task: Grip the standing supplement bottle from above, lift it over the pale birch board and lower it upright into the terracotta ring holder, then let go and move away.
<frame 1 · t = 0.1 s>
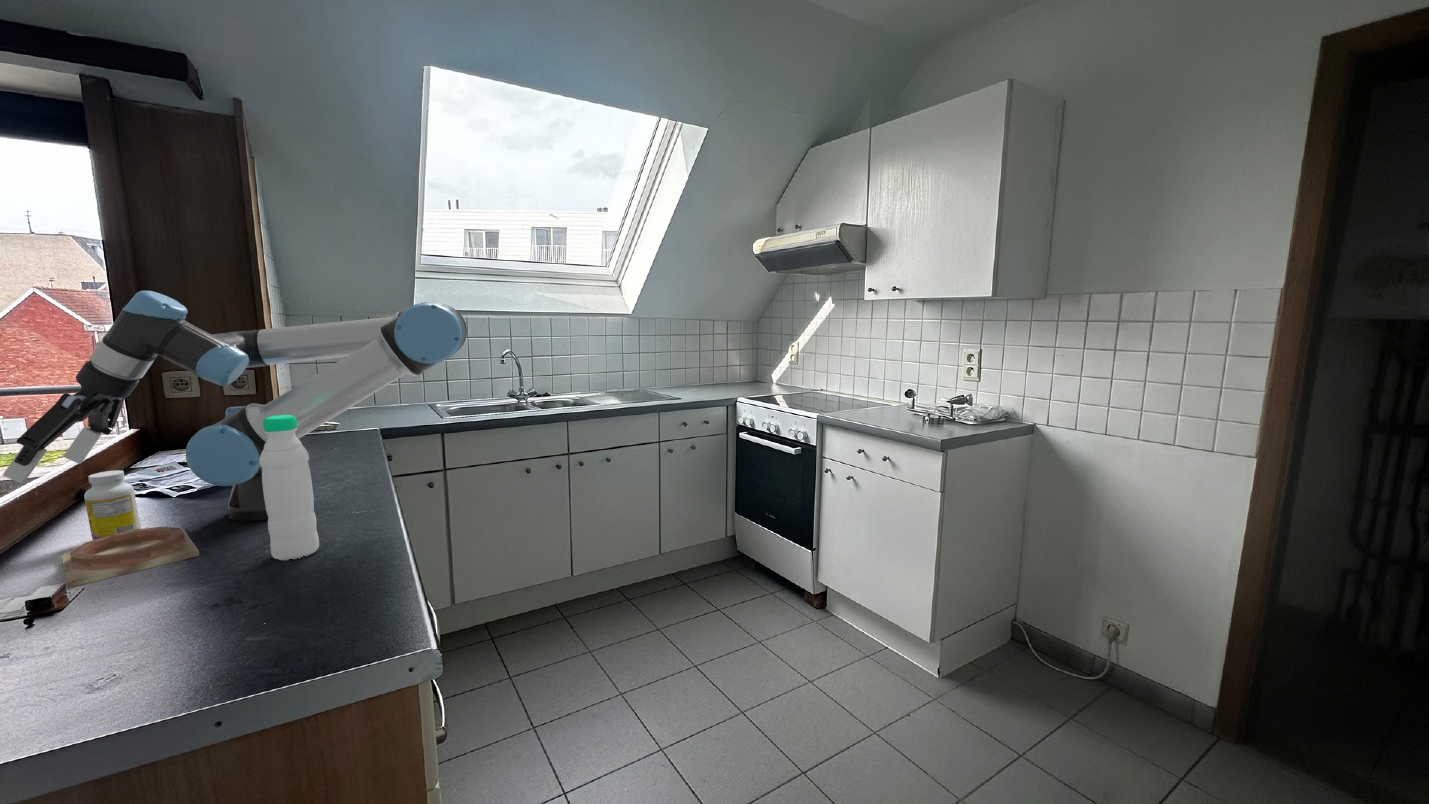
hand: (44, 469, 106), 15 cm above the countertop, tool tilted 35°, fingers open, 13 cm apart
supplement bottle: (117, 539, 114), on the countertop
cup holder: (131, 557, 105), on the countertop
water bottle: (296, 554, 107), on the countertop
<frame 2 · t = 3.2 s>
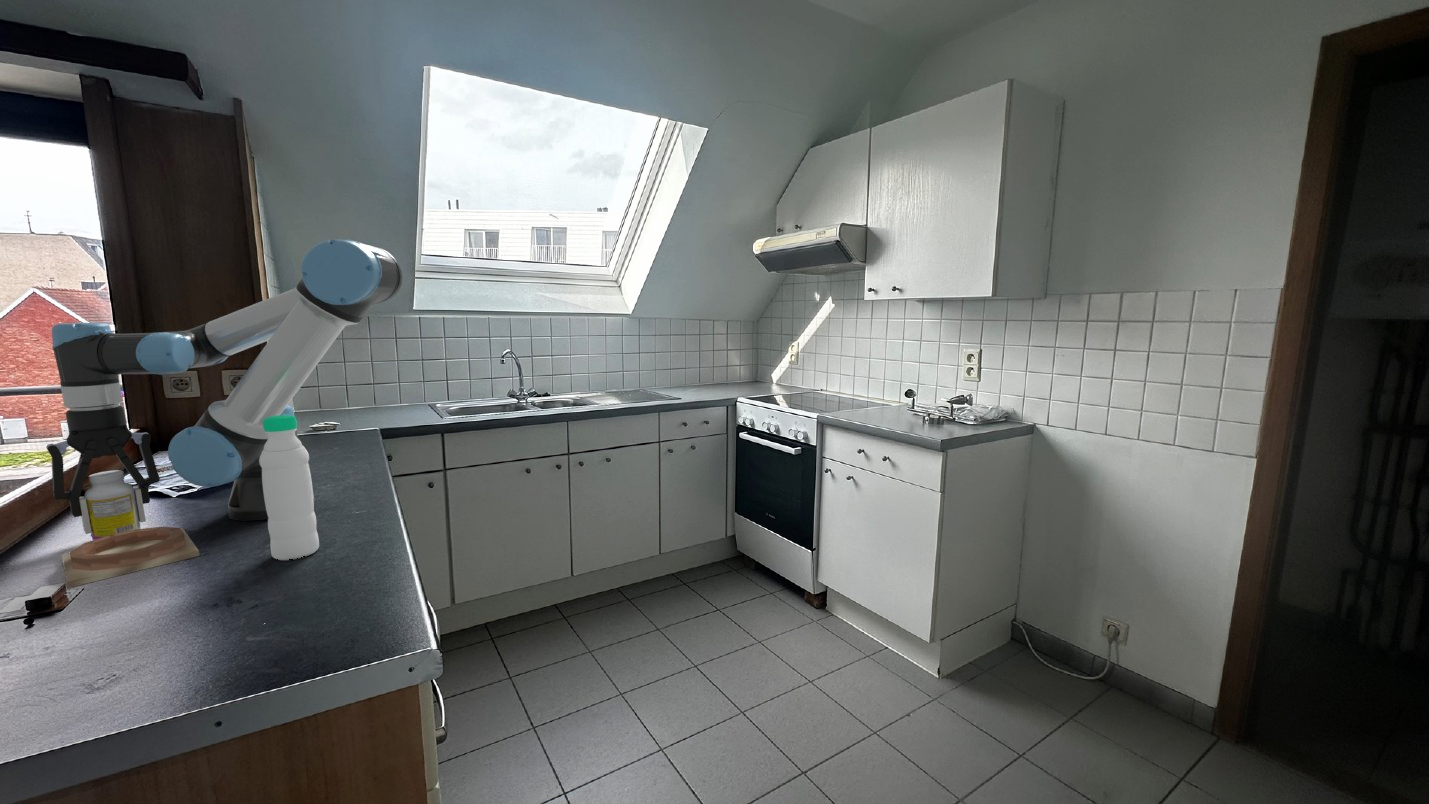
hand: (115, 525, 113), 3 cm above the countertop, tool pointing down, fingers closed on supplement bottle, 7 cm apart
supplement bottle: (117, 539, 114), on the countertop, touching gripper
everything else where it was.
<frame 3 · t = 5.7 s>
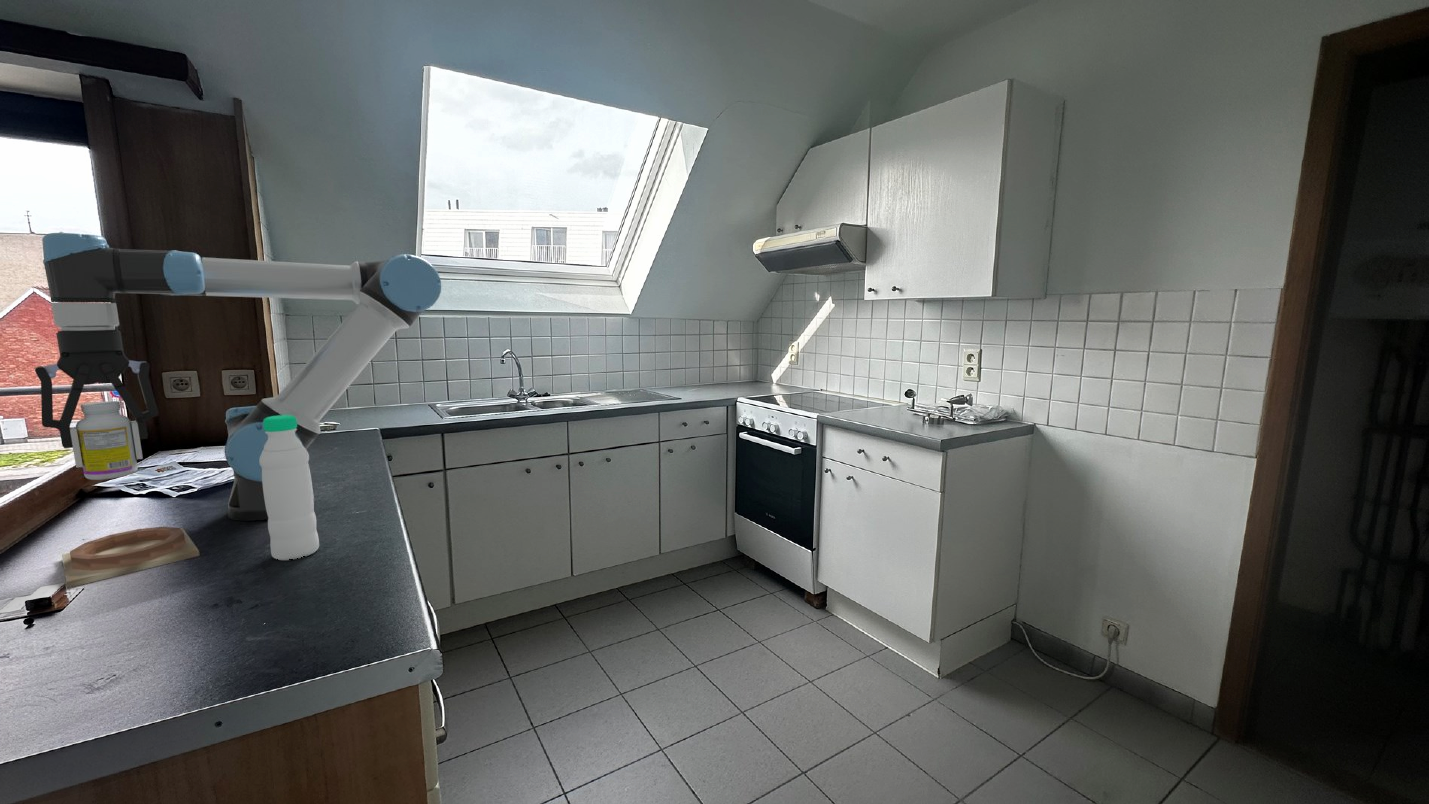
hand: (109, 461, 104), 17 cm above the countertop, tool pointing down, fingers closed on supplement bottle, 7 cm apart
supplement bottle: (112, 476, 104), point 14 cm above the countertop, touching gripper
everything else where it was.
when the fingers open (5 cm above the countertop, at t = 8.6 s): supplement bottle drops 1 cm, resting on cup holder.
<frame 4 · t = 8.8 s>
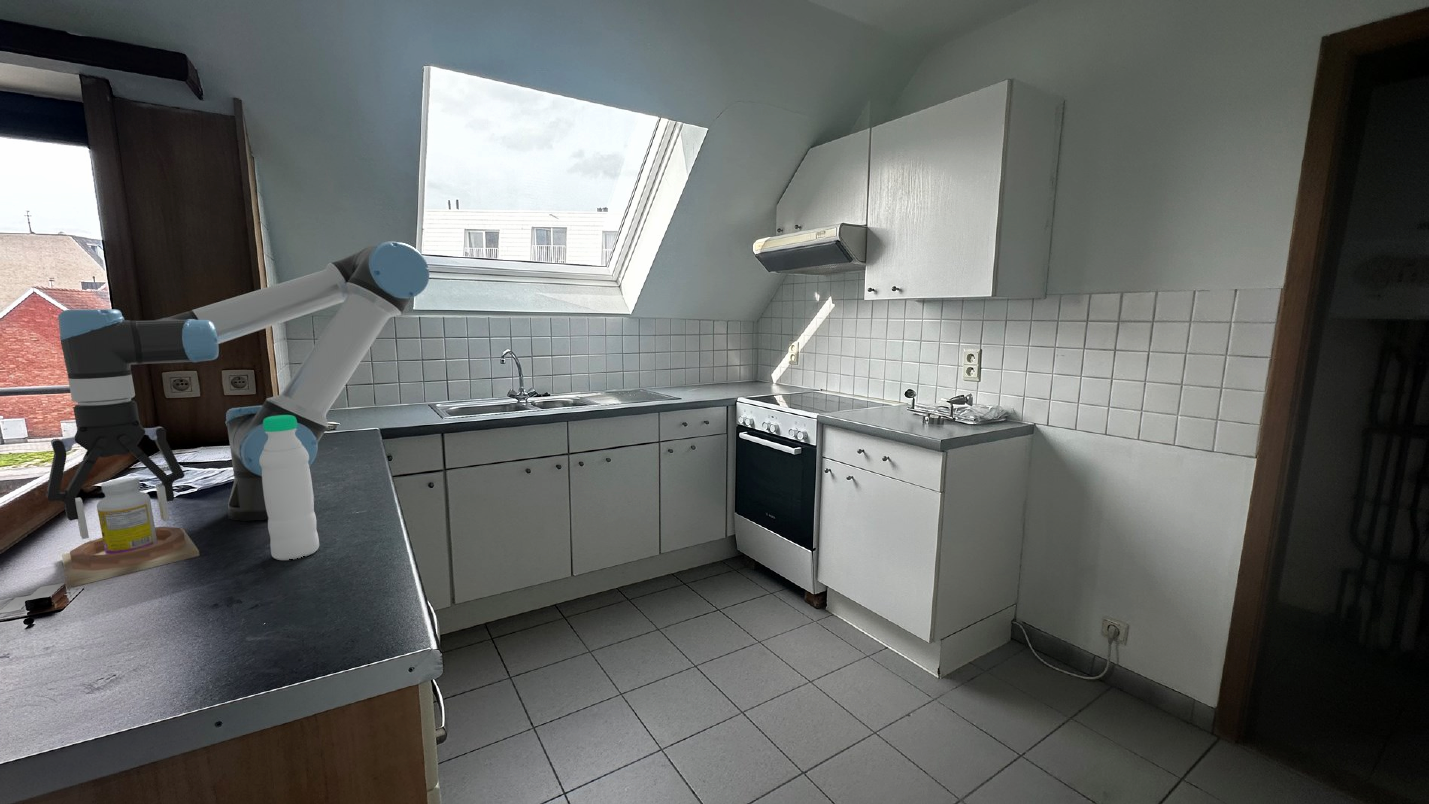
hand: (126, 527, 104), 6 cm above the countertop, tool pointing down, fingers open, 9 cm apart
supplement bottle: (132, 553, 105), point 1 cm above the countertop, touching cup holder
everything else where it was.
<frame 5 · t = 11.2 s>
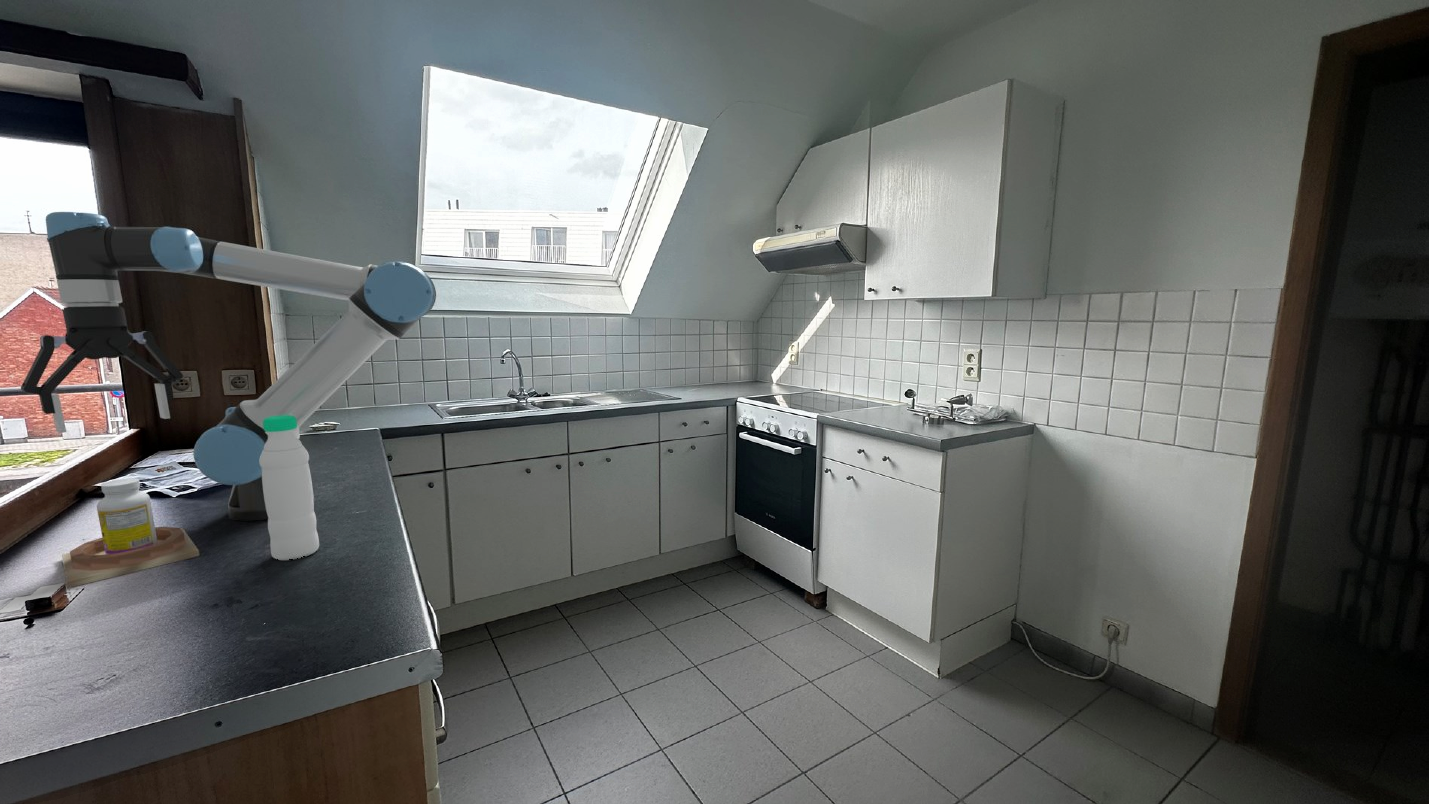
hand: (116, 424, 107), 23 cm above the countertop, tool pointing down, fingers open, 13 cm apart
nothing on the countertop moved.
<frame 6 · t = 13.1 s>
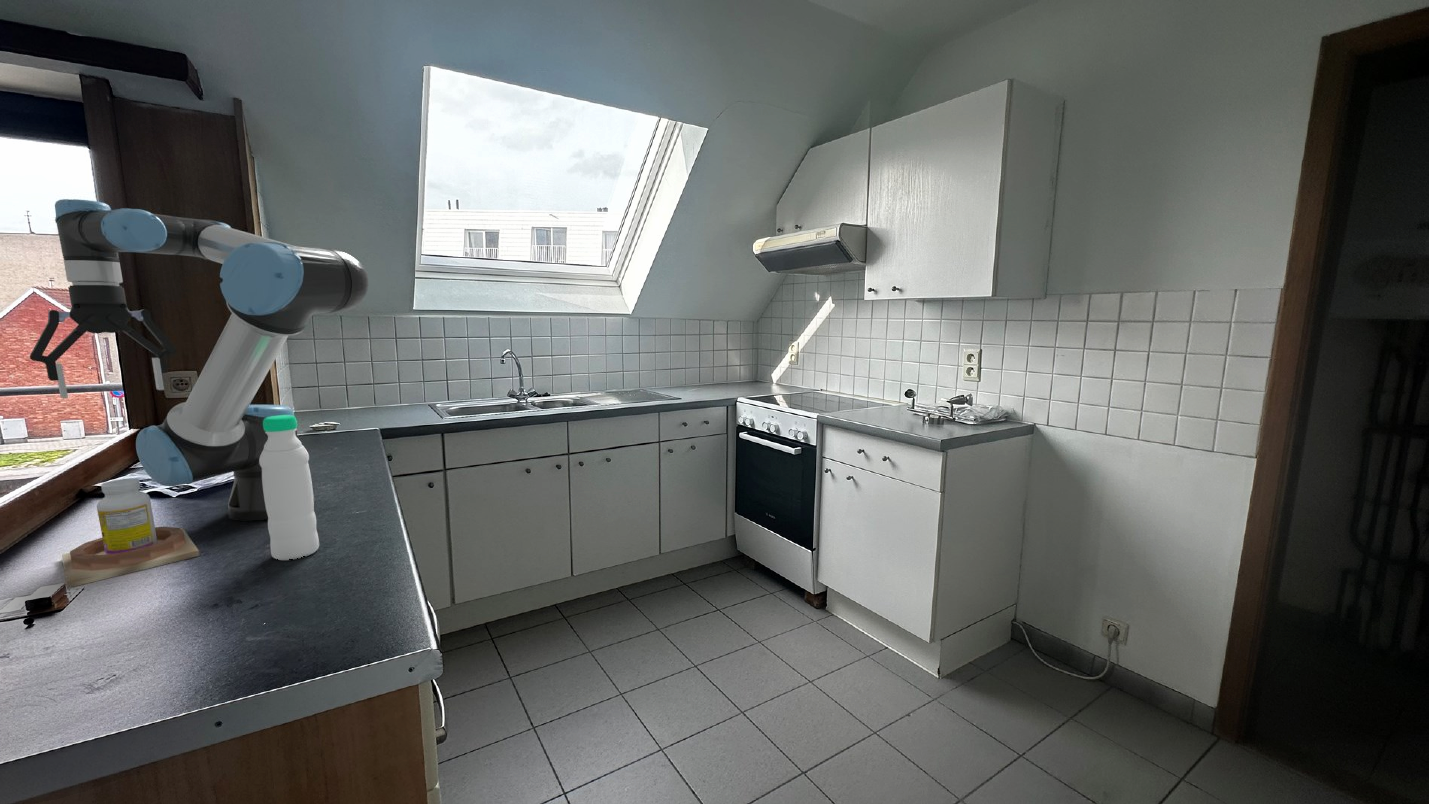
hand: (114, 393, 118), 27 cm above the countertop, tool pointing down, fingers open, 13 cm apart
nothing on the countertop moved.
at the end: supplement bottle 0.2 cm off-centre on the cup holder, point 0.8 cm above the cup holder's base; supplement bottle tilted 0°; the gripper is holding nothing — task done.
